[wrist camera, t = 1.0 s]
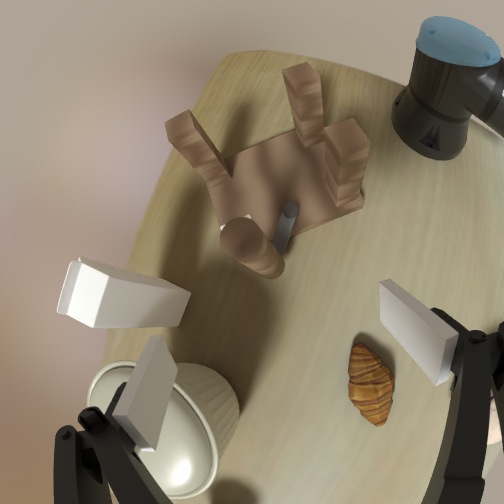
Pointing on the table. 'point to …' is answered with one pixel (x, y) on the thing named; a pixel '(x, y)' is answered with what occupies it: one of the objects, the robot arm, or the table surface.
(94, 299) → the milk
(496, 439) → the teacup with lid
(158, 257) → the table surface
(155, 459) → the canister
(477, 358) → the robot arm
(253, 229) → the hinged leg
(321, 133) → the stool seat
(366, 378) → the croissant
